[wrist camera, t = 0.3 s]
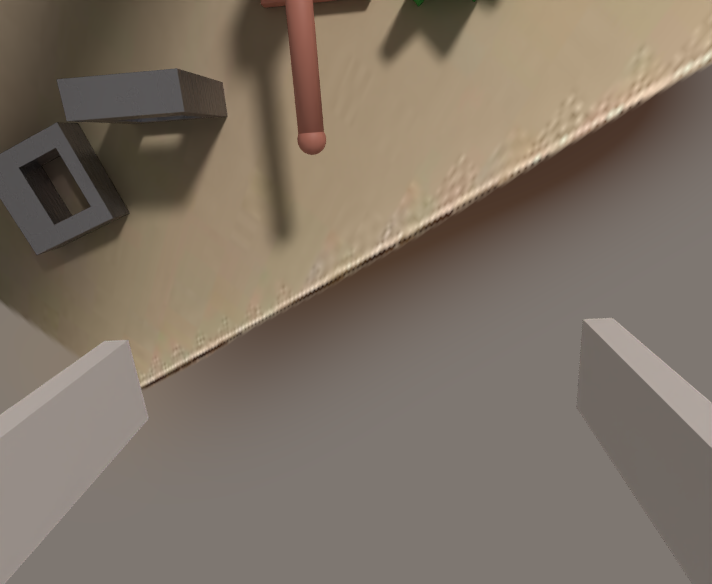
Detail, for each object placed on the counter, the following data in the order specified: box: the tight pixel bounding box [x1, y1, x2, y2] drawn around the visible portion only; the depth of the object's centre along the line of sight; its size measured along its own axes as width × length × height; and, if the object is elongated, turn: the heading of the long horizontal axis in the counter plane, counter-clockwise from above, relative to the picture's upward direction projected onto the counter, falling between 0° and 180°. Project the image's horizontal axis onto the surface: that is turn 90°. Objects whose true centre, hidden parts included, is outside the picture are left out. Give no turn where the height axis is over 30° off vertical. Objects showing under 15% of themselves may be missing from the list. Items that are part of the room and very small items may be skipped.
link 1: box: [0, 122, 129, 255], centre depth 39 cm, size 8×8×2 cm
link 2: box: [57, 69, 227, 124], centre depth 33 cm, size 2×8×8 cm, turn 94°
